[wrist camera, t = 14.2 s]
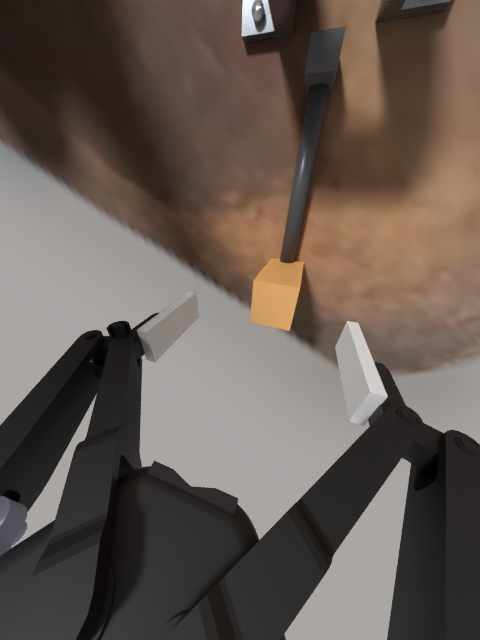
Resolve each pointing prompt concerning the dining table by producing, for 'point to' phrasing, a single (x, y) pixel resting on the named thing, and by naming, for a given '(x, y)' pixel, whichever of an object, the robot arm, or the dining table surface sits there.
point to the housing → (280, 7)
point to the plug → (298, 188)
